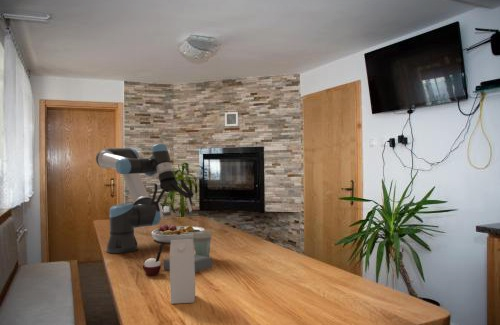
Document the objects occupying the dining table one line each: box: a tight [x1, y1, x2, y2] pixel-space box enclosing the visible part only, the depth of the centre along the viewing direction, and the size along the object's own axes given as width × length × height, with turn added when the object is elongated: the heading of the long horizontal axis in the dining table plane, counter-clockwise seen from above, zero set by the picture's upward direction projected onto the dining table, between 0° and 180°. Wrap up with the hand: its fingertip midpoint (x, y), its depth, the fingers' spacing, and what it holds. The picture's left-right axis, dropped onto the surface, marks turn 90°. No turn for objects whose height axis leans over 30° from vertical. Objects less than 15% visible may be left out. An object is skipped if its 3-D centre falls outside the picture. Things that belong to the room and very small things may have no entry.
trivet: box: [162, 253, 213, 273], centre depth 159 cm, size 14×14×4 cm
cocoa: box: [142, 243, 164, 277], centre depth 151 cm, size 10×6×12 cm, turn 44°
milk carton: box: [169, 239, 196, 305], centre depth 122 cm, size 7×7×19 cm
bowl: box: [151, 223, 206, 244], centre depth 223 cm, size 30×30×8 cm
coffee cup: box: [193, 230, 212, 257], centre depth 174 cm, size 8×9×12 cm
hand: (176, 214), depth 179 cm, fingers open, 13 cm apart
